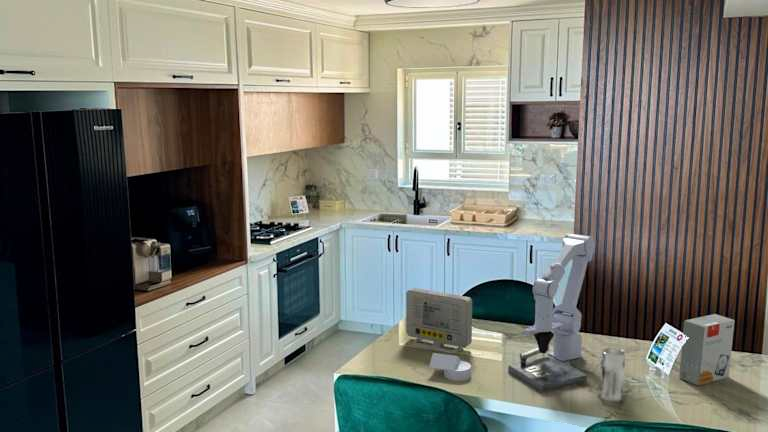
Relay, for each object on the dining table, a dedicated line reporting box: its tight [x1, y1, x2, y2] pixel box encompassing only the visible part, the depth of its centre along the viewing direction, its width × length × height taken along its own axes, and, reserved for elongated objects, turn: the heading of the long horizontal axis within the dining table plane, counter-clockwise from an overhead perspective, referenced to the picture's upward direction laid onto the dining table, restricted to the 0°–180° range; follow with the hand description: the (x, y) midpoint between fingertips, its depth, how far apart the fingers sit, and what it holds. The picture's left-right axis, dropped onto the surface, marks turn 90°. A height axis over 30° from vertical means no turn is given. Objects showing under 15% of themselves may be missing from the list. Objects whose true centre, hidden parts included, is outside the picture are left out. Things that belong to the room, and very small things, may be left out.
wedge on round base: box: [428, 352, 472, 382], centre depth 224 cm, size 9×7×13 cm
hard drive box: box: [678, 313, 735, 386], centre depth 218 cm, size 16×8×20 cm, turn 117°
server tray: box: [507, 355, 588, 394], centre depth 221 cm, size 18×18×4 cm
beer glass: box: [600, 347, 626, 403], centre depth 205 cm, size 7×7×15 cm
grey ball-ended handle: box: [519, 344, 550, 361], centre depth 229 cm, size 14×2×2 cm, turn 130°
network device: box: [405, 287, 473, 354], centre depth 249 cm, size 26×9×20 cm, turn 58°
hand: (542, 352), depth 228 cm, fingers closed
